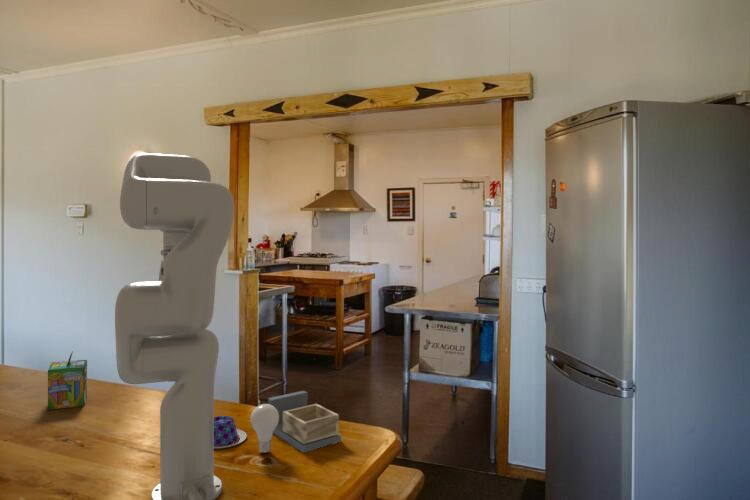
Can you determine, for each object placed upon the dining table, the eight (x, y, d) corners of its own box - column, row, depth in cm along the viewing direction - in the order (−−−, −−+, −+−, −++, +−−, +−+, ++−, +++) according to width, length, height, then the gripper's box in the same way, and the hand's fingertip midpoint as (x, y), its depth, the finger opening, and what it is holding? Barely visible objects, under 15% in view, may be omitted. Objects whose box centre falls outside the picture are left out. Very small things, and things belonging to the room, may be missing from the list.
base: (341, 441, 122) (341, 408, 122) (303, 453, 115) (303, 418, 115) (303, 420, 136) (303, 390, 135) (267, 429, 129) (267, 398, 129)
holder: (338, 434, 122) (338, 414, 122) (303, 444, 116) (303, 423, 116) (316, 421, 130) (316, 403, 130) (282, 430, 124) (282, 411, 124)
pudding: (196, 433, 127) (196, 412, 127) (246, 429, 130) (246, 409, 130) (192, 453, 115) (192, 431, 115) (247, 448, 118) (247, 426, 118)
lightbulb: (272, 460, 112) (272, 410, 111) (245, 457, 113) (245, 408, 113) (283, 448, 118) (283, 401, 118) (257, 445, 119) (257, 399, 119)
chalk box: (51, 401, 149) (51, 350, 148) (87, 397, 153) (87, 348, 152) (46, 411, 141) (45, 357, 140) (84, 406, 144) (84, 354, 144)
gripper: (161, 255, 116) (162, 330, 117) (216, 253, 132) (216, 319, 132) (139, 254, 120) (139, 327, 120) (195, 253, 135) (195, 317, 136)
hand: (179, 323), depth 126 cm, fingers open, 9 cm apart
